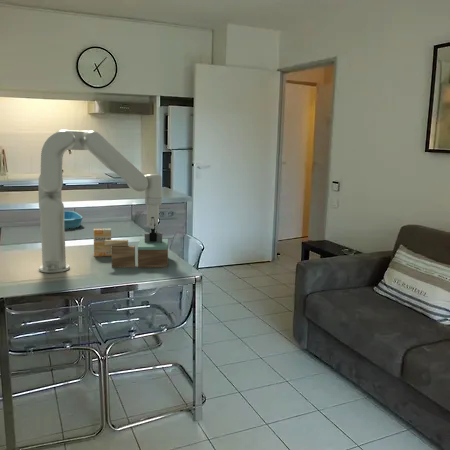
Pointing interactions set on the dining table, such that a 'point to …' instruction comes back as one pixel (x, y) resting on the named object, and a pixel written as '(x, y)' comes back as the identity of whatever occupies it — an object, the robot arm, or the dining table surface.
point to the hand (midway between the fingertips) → (153, 240)
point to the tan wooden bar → (116, 242)
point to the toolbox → (146, 258)
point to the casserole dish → (71, 219)
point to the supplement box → (102, 242)
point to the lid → (153, 243)
